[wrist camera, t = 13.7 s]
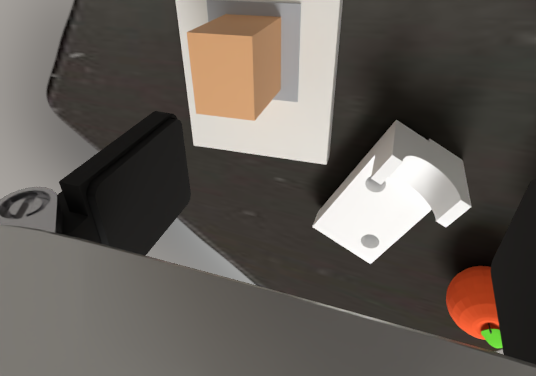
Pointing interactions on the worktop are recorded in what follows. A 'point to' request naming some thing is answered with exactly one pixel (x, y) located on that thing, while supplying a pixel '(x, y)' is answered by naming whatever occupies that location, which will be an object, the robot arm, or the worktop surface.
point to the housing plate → (292, 80)
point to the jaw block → (235, 65)
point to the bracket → (394, 193)
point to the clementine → (475, 304)
